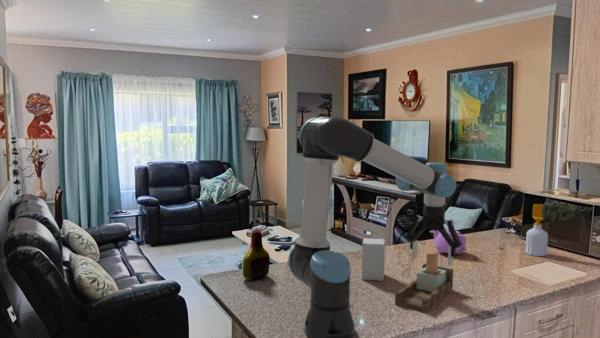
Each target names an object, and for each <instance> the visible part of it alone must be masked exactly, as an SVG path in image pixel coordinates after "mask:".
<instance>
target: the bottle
mask: <svg viewBox="0 0 600 338" xmlns="http://www.w3.org/2000/svg"><path fill="white" fill-rule="evenodd" d="M250 238H251V239H250V247H249V248H248V250H247V251H246V252H245V253H244V255H243V258H242V262H241V263H242V264H241V270H242V273H241V275H242V276H243V277H244V279H245V280H248V281H255V280H256V281H257V280H259V279H260V280H261V279H264V278H265V279H266V277H267V276H268V275H269V273H270V264H271V261H270V260H271V258H270V253H269V251H267V250H266V249H265V248H264V246H263V235H262V232H261V229H258V228H257V229H253V230H252V231H251V237H250Z"/></svg>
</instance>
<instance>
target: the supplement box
mask: <svg viewBox="0 0 600 338" xmlns="http://www.w3.org/2000/svg"><path fill="white" fill-rule="evenodd" d="M385 248H386V240H385V239H383V238H367V237H366V238H365V237H364V238H363V240H362V251H361V253H362V254H361V280H366V281H376V282H377V281H380V282H384V280H385V279H384V278H385V259H386V258H385V257H386V256H385V255H386V254H385V253H386V249H385Z"/></svg>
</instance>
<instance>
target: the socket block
mask: <svg viewBox="0 0 600 338" xmlns="http://www.w3.org/2000/svg"><path fill="white" fill-rule="evenodd" d="M446 272H447V271H445V270H441V269H438V272H437V275H433V274H429V273H426V267H425V268H423V267H422V268H421V269H420V270H419V271H417V273H416V279H417V287H416V288H417V289H421V290H425V291H429V292H433V291H435V290H436V289H437V288H439V287H440V286H441V285H442V284H444V283H445V282H446Z"/></svg>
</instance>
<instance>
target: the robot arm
mask: <svg viewBox="0 0 600 338" xmlns="http://www.w3.org/2000/svg"><path fill="white" fill-rule="evenodd" d="M298 139H299V143H300V145H301V147H302V159H303V160H304V161H305V163H306V169H305V179H304V189H303V190H304V192H303V202H302V211H301V224H300V233H299V234H300V235H299V237H297V238H296V239H295V240H294V246H293V248H291V249H290V251H289V254H288V259H287V262H288V263H287V264H288V267H289V268H288V269H289V270H290V272H291V273H292V274H293V276H294V277H296V279H297V280H298V281H301V282H302V283H303V284H305V286H307V287H308V288H309V290H310V305H309V306H310V307H309V310H308V312H307V315H306V318H305V321H304V333H305V335H306V336H307V337H308V338H353V337H354V335H355V334H356V333H355V332H356V331H355V327H356V326H355V325H356V324H355V322H354V319H353V315H352V312H351V309H350V293H351V292H350V291H351V289H350V286H351V263H350V260H349V258H348V257H347V255H345V254H343V253H341V252H339V251H334V250H331V242H330V241H329V240H328V239H327V238H328V237H327V235H328V224H329V223H328V222H329V214H330V206H331V205H330V202H331V193H332V192H331V191H332V185H333V184H332V181H333V171H334V165H335V164H337V163H338V162H339V159H340V158H339V157H343V158H347V159H350V160H353V161H355V162H357V163H361V162H365V163H366V164H368V165H370V166H372V167H375V168H377V169H379V170H381V171H382V172H383V171H384V172H385V173H387V174H389V175H392V176H393V177H395V185H396V187H397V188H398V190H400V191H402V192H403V191H404V192H405V191H406V192H409V191H413V192H418V193H422V194H423V204H424V205H423V211H422V214H423V216H421V215H420V214H417V215H415V216H414V220H413V222H412V225H411V226H410V228H409V230H408V232H407V234H406V235H405V238H406V239H407V240H410V247H409V249H411V250H412V251H411V259H414V260H415V259H416V258H417V257H418V240H417V238H418V237H420V236H421V235H422V233H424V231H426V229H427V230H428V231H431V230H432V231H433V232H434V231H437V230H438V233H441V234H442V236H443V237H444V238H445V240H446V241H447V243H448V244H449V245H450V248H449V249H448V253H447V266H448V267H450V266H452V265H453V262H454V261H453V258H454V257H456V254H455V253H456V248H458V247H460V246H461V242H460V240H459V237H458V235H457V233H456V231H457V230H456V229H455V226H454V220H453V219H448V220H447V219H445V217H446V215H445V214H446V207H445V205H446V198H449V197H452V195H454V194H455V191H456V190H457V181H456V179H455V177H454V176H453V175H451V174H448V173H447V171H448V170H447V169H448V167H447V164H445V163H443V162H431V161H430V162H426V163H425V164H424V163H422V162H420V161H418V160H417V159H415V158H412V157H411V156H408V155H407V154H405V153H403V152H401V151H399V150H397V149H395V148H394V147H391V146H390V145H388V144H386V143H384V142H382V141H380V140H378V139H376V138H375V137H374V134H373V133H372V132H370V131H369V130H367V129H364V128H363V127H361V126H359V125H358V124H356V123H354V122H352V121H350V120H349V119H346V118H343V117H340V116H316V117H312V118H310V119H308V120H307V121H305V122H304V123H303V125H302V126H301V128H300V129H299V134H298ZM421 221H422V222H423V225H422V226H421V227H420V228H419V229H418V230H417V231H416V229H417V227H418V225H419V223H420V222H421ZM444 225H446V227H447V228H448V229H449V231H450V233H451V236H452V238H453V240H452V238H451V237H450V235H449V234H448V233H447V231H446V230H448V229H446V228H445V226H444ZM415 231H416V232H415ZM414 232H415V233H414Z"/></svg>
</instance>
